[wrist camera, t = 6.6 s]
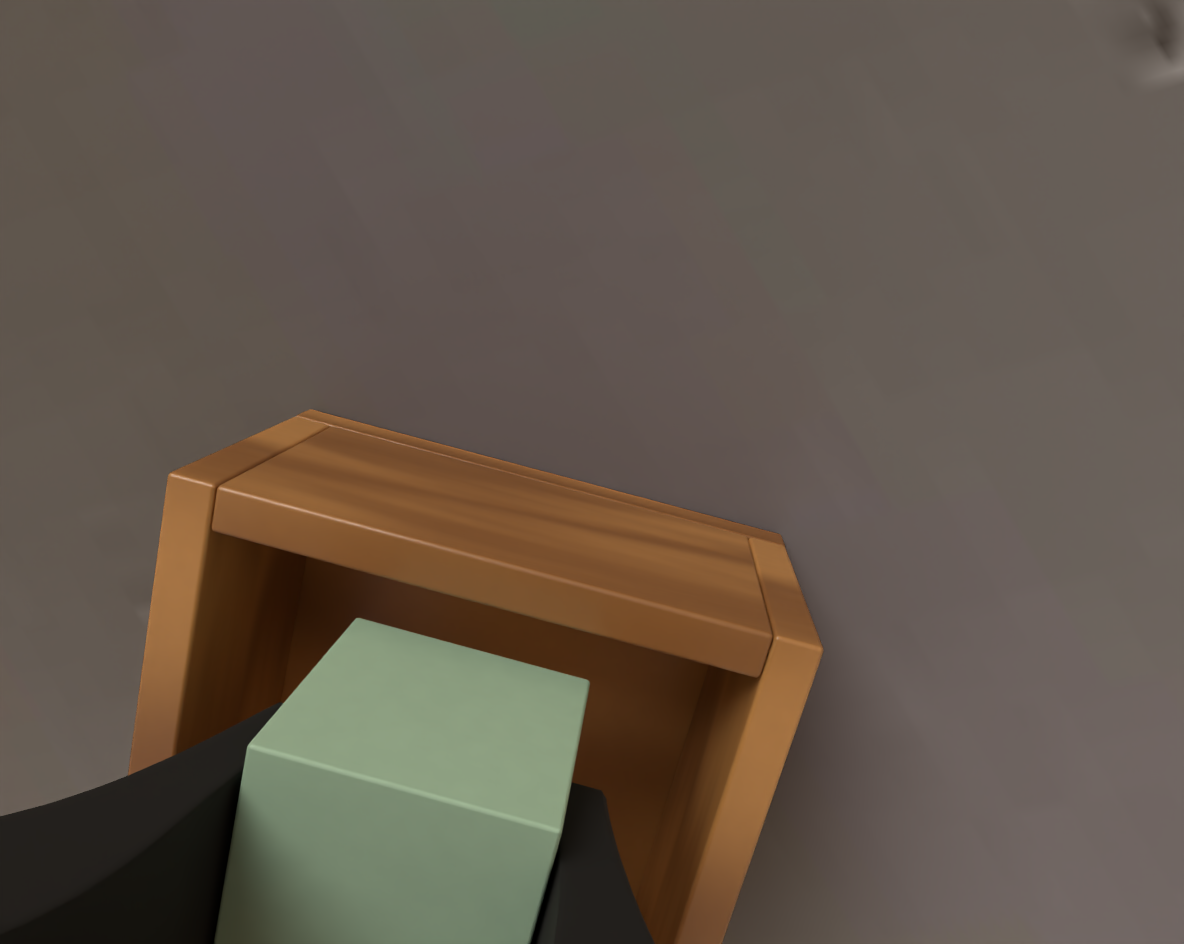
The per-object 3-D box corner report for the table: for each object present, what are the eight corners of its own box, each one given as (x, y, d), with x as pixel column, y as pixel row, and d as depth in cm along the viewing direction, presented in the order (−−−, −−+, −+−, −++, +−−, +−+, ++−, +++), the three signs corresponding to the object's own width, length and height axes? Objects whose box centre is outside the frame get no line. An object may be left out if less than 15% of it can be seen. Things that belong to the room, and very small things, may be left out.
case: (309, 408, 20) (166, 472, 14) (781, 534, 20) (825, 649, 14) (242, 799, 22) (98, 985, 17) (658, 915, 22) (654, 1141, 16)
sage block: (315, 819, 16) (202, 1002, 12) (356, 615, 15) (245, 745, 11) (535, 880, 16) (492, 1084, 12) (590, 679, 15) (562, 831, 11)
